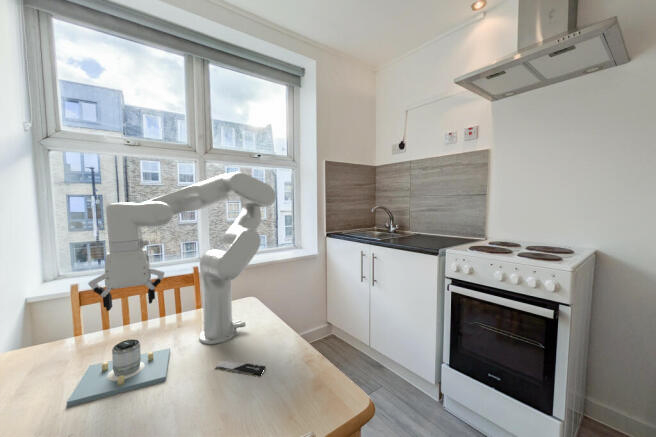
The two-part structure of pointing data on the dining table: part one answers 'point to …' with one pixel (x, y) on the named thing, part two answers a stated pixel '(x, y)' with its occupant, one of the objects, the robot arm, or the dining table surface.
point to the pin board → (120, 378)
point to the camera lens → (126, 357)
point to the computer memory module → (241, 368)
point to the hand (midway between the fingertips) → (130, 305)
